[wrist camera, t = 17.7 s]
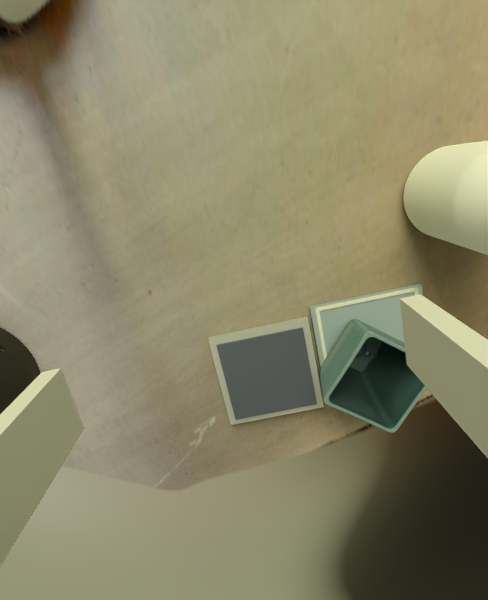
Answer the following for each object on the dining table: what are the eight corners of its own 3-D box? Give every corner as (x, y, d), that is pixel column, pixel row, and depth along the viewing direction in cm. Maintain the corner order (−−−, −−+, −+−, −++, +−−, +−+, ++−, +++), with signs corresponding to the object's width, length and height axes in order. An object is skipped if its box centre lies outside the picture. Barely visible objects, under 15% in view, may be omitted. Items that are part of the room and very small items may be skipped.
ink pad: (230, 420, 53) (230, 426, 52) (209, 336, 49) (208, 341, 48) (322, 402, 52) (324, 408, 51) (306, 316, 49) (308, 320, 47)
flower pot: (367, 391, 51) (394, 435, 42) (305, 363, 49) (321, 403, 41) (406, 332, 49) (443, 366, 40) (343, 301, 47) (368, 329, 39)
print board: (324, 393, 52) (326, 397, 51) (309, 306, 48) (310, 309, 47) (427, 373, 51) (430, 377, 50) (419, 283, 48) (422, 285, 47)
